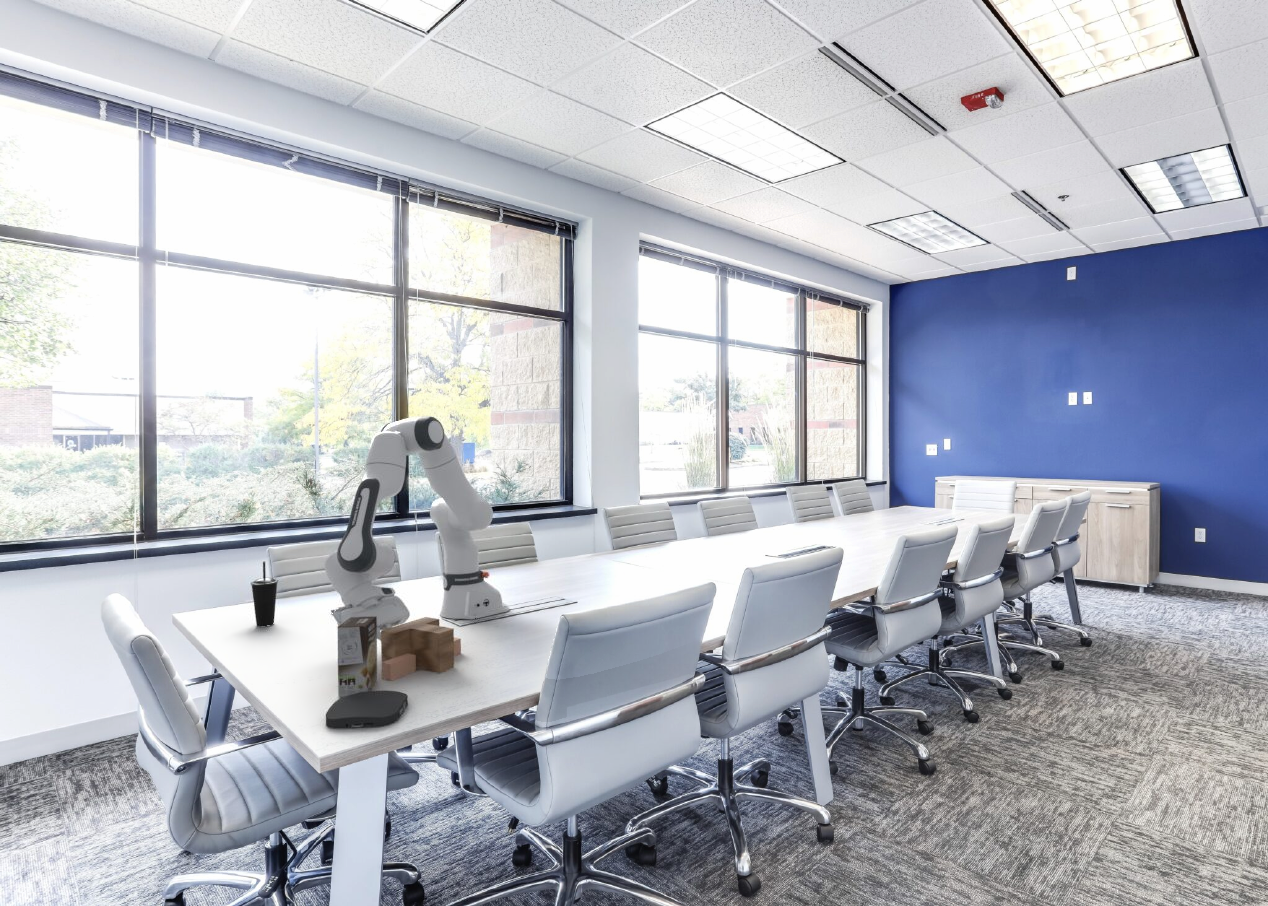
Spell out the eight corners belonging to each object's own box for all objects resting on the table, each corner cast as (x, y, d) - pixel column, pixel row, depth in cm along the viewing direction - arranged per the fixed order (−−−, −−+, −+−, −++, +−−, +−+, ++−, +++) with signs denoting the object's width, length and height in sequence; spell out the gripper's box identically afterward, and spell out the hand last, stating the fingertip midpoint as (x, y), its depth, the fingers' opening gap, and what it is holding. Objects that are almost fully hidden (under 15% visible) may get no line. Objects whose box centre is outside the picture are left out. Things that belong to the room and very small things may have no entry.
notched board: (381, 678, 168) (381, 662, 168) (452, 651, 189) (452, 637, 189) (390, 680, 166) (390, 664, 166) (460, 653, 187) (460, 638, 187)
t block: (381, 669, 174) (381, 630, 174) (426, 653, 187) (425, 616, 187) (424, 679, 167) (423, 638, 167) (467, 662, 180) (467, 623, 180)
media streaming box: (344, 703, 153) (344, 690, 153) (411, 701, 154) (411, 687, 154) (319, 731, 139) (319, 716, 139) (394, 728, 140) (393, 714, 140)
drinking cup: (267, 628, 213) (265, 564, 213) (245, 627, 215) (244, 563, 214) (284, 622, 221) (283, 559, 220) (263, 621, 222) (262, 559, 222)
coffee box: (366, 696, 156) (365, 626, 156) (337, 697, 156) (336, 627, 155) (378, 682, 165) (377, 615, 165) (350, 683, 165) (349, 616, 165)
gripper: (335, 602, 178) (362, 645, 174) (397, 586, 196) (423, 625, 192) (324, 617, 180) (350, 660, 176) (387, 600, 198) (412, 639, 194)
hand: (389, 641), depth 184 cm, fingers closed
